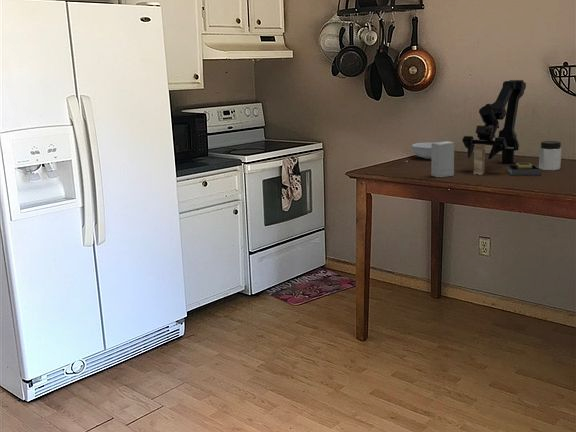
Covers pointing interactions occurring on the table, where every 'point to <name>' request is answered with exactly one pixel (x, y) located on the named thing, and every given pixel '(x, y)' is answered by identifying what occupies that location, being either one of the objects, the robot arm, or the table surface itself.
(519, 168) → the gray square tray
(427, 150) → the serving bowl
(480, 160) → the tan square peg
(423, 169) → the table surface
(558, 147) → the jar
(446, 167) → the skincare box
